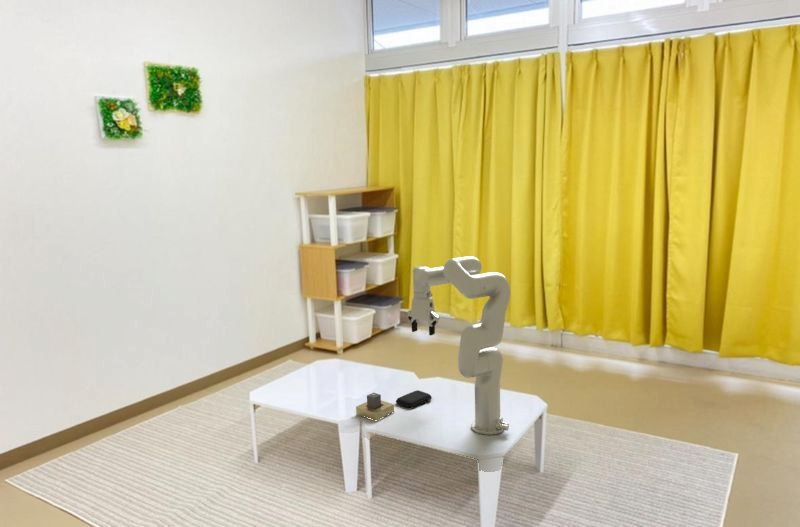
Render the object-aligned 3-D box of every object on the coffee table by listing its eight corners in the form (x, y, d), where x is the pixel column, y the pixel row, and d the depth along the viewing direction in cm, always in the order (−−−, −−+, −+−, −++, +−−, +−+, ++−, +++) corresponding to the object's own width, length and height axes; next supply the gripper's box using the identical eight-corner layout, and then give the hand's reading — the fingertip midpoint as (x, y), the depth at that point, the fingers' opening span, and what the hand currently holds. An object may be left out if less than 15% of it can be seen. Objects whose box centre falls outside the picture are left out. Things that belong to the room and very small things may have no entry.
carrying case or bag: (411, 411, 230) (435, 401, 240) (411, 404, 230) (435, 394, 240) (393, 404, 238) (417, 394, 248) (393, 398, 237) (417, 388, 247)
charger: (381, 413, 228) (380, 394, 227) (374, 416, 225) (373, 397, 224) (374, 410, 231) (373, 391, 230) (367, 414, 228) (366, 394, 227)
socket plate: (394, 412, 229) (393, 404, 229) (375, 421, 221) (375, 413, 220) (374, 406, 236) (374, 398, 236) (356, 414, 228) (356, 406, 227)
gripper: (443, 295, 237) (444, 334, 240) (412, 291, 249) (413, 328, 251) (432, 298, 232) (433, 338, 234) (401, 294, 243) (402, 332, 245)
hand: (423, 333), depth 243 cm, fingers open, 9 cm apart
